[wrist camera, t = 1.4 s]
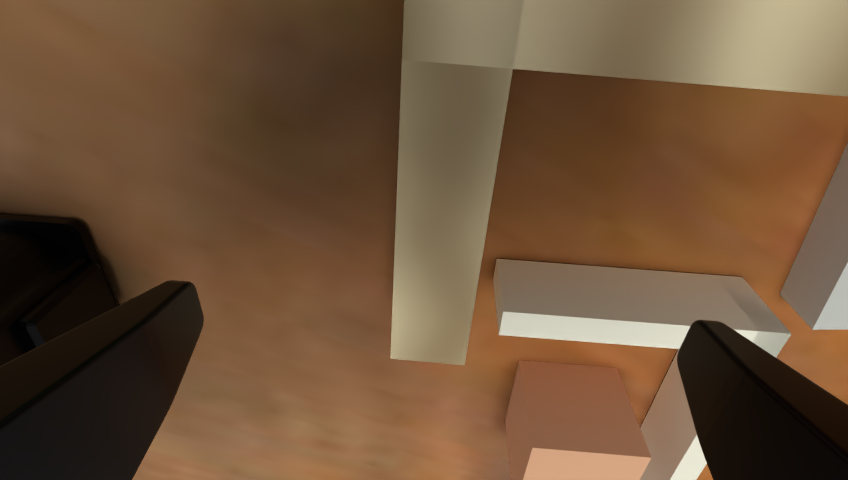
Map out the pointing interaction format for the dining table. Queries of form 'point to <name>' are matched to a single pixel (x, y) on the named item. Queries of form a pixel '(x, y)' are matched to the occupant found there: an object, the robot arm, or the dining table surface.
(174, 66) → the dining table surface
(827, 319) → the stick
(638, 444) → the block
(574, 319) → the white l-shaped bracket
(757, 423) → the robot arm
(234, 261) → the dining table surface
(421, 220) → the hook
